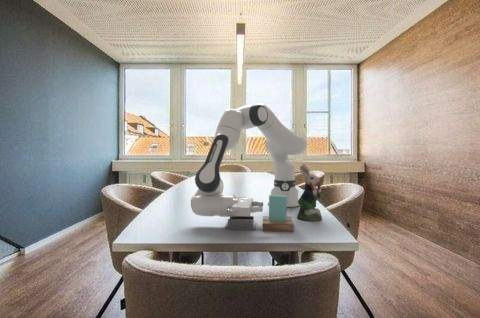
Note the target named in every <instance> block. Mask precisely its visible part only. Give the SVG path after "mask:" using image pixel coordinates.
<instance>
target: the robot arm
mask: <svg viewBox="0 0 480 318" xmlns="http://www.w3.org/2000/svg"><path fill="white" fill-rule="evenodd" d="M256 127H257V129H258V130H259V131H260V133H261V134H263V136H264V137H265V138H266V140H265V142H264V143H265V144H264V147H265V148H264V149H266V151H267V153H269V154H270V156H271V158H272V161H273V165H274V180H273V188H271V191H270V195H286V196H287V207H286V208H293V207H294V208H295V207H300V205H299V204H298V200H299V190H298V189H297V186H296V185H297V180H296V166H295V164H294V163H293V162H291V160H290V158H289V156H296V155H301V154H303V153H304V152H305V151H306V150H307V145H308V144H307V140H306V139H305V137H304V136H303V135H299V134H297V133H295V132H293V131H292V130H291V129H289V128H288V127H287V126H286V125H284V124H283V123H282V122H281V121H280V120H279V118H278V117H277V116H276V114H275V113H274V112H273V111H272V110H271V108H269V107H268V106H267V105H266V104H264V103H261V102H259V103H252V104H247V105H243V106H241V107H237V108H229V109H226V110H225V111H224V112H223V114H222V116H221V118H220V120H219V122H218V125H217V128H216V131H215V133H214V137H213V141H212V143H211V146H210V148H209V151H208V154H207V156H206V159H205V162H204V163H203V164H202V166H200V168H199V169H198V171H197V172H196V174H195V175H194V176H195V177H194V183H195V185H196V187H197V190H196V192H195V193H194V194H193V196H191V198H190V207H191V210H192V212H193V213H194V215H196V216H200V217H216V216H218V217H222V218H230V217H234V215H235V216H251V215H252V214H253V213H258V212H259V213H261V212H263V209H264V208H263V207H264V202H263V201H258V200H257V201H256V200H254V198H251V197H246V196H237V195H234V194H232V195H231V194H230V195H228V194H227V195H224V194H223V192H224V187H225V186H224V185H225V184H224V182H223V179H222V178H221V174H220V168H221V164H222V163H223V159H224V157H225V153H226V152H229V151H232V150H234V149H235V148H236V146H237V144H238V143H239V140H240V137H241V133H242V130H249V129H253V128H256ZM267 205H268V206H269V201H268V202H267Z"/></svg>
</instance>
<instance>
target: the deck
mask: <svg viewBox="0 0 480 318" xmlns="http://www.w3.org/2000/svg"><path fill="white" fill-rule="evenodd" d="M261 229H262V232H286V233H293V232H294V222H293V218H292V216H286V221H269V215H268V216H266V215H264V216H262V228H261Z"/></svg>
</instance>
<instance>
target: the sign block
mask: <svg viewBox="0 0 480 318" xmlns="http://www.w3.org/2000/svg"><path fill="white" fill-rule="evenodd" d="M268 202H269V205H268V216H269V221H286V217H287V208H288V207H287V196H286V195H271V194H268Z"/></svg>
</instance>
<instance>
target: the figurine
mask: <svg viewBox="0 0 480 318" xmlns="http://www.w3.org/2000/svg"><path fill="white" fill-rule="evenodd" d="M299 171H301V172H300V173H301V175H302V176H303V177H305V178H304V188H303V189H304V190H303V192H302V194H301V196H300V197H299V198H298V204H299V205H300V206H299V210H298V213H297V215H296V216H297V217H296V218H297V219H298V220H301V221H305V222H318V221H317V220H320V221H322V219H323V216H322V213H321V210H320V209H319V208H318V207H317V201H319V200H321V192H322V189H321V188H322V184H321V180H320V177H319V176H317V175H316V174H314V173H311V171H310V169H309V167H308V165H306V164H305V163H303V164H302V165H300V166H299ZM316 185H317V186H316ZM316 207H317V208H316Z"/></svg>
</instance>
